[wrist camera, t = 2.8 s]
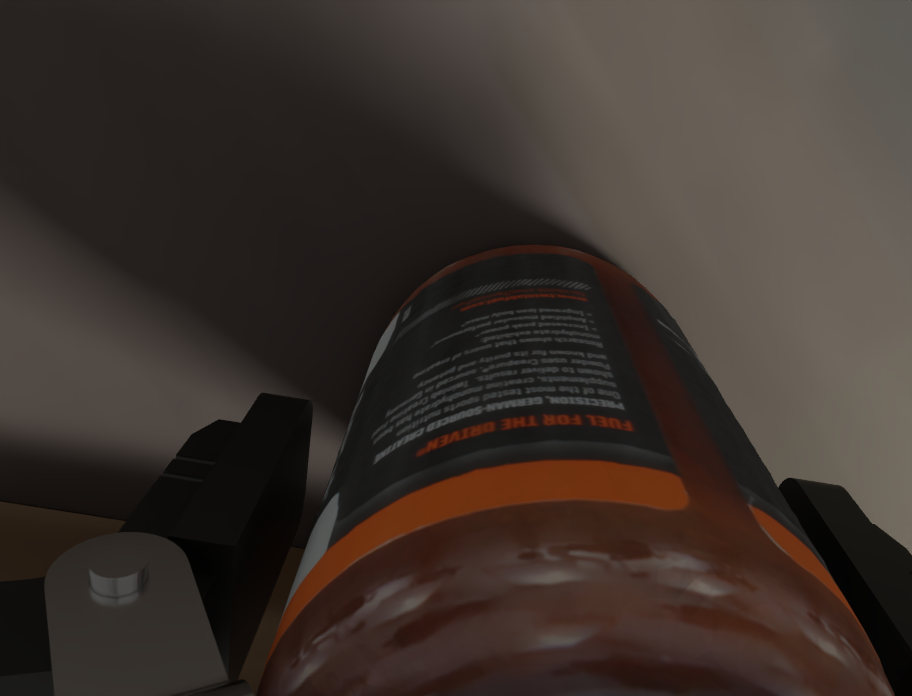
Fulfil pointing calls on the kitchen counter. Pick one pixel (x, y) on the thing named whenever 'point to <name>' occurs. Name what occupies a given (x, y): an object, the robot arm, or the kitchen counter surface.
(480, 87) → the kitchen counter surface
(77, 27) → the kitchen counter surface
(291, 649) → the supplement bottle
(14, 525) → the wooden tray
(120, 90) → the kitchen counter surface
